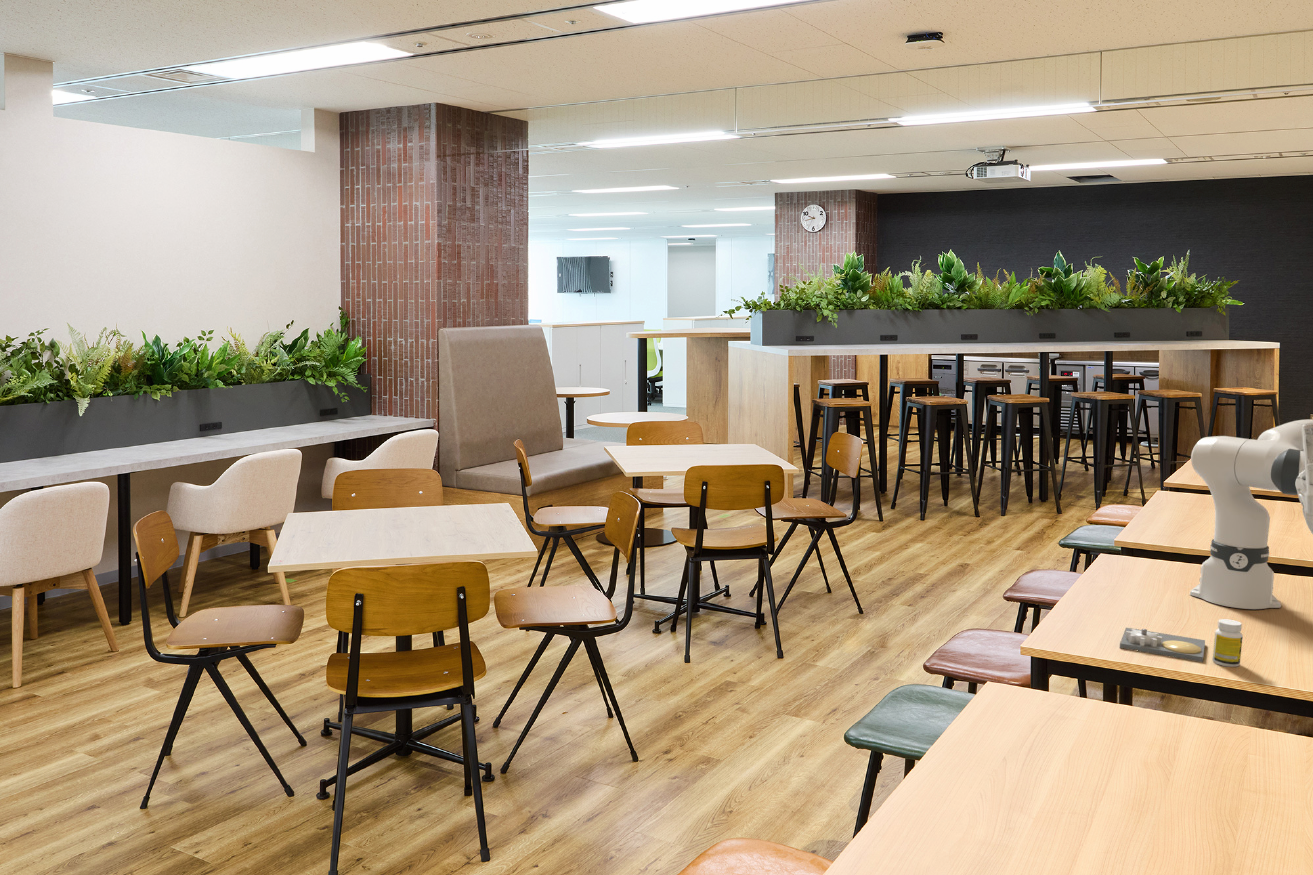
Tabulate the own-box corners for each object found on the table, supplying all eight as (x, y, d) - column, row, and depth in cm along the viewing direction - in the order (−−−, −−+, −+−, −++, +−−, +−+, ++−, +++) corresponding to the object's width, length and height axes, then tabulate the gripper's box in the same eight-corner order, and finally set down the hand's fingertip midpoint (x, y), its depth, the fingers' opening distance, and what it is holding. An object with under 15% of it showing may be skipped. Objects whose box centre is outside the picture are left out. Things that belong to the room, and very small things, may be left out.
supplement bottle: (1243, 668, 197) (1247, 626, 196) (1216, 666, 198) (1221, 624, 197) (1234, 660, 202) (1238, 619, 201) (1208, 658, 203) (1212, 617, 202)
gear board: (1125, 631, 218) (1127, 616, 217) (1204, 644, 211) (1206, 628, 210) (1119, 647, 208) (1121, 631, 207) (1202, 662, 200) (1204, 645, 200)
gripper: (1336, 446, 213) (1325, 402, 205) (1344, 525, 201) (1333, 481, 193) (1300, 450, 216) (1289, 407, 209) (1306, 527, 204) (1294, 484, 197)
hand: (1310, 443), depth 201 cm, fingers open, 8 cm apart
